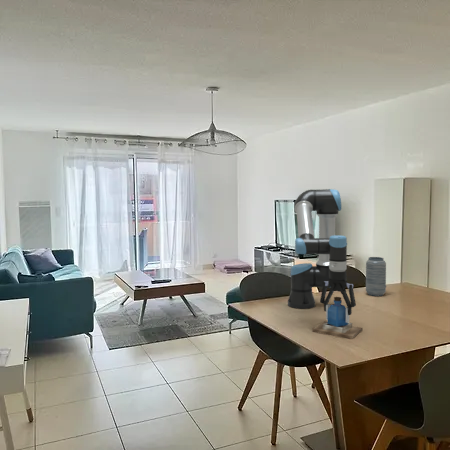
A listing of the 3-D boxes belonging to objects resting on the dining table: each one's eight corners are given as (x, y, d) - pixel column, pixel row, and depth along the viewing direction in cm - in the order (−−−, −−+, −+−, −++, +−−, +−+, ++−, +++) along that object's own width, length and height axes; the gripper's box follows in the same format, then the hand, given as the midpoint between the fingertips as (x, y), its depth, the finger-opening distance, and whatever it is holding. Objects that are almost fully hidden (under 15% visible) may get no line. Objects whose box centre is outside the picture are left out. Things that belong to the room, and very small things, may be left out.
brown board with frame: (312, 331, 186) (312, 324, 186) (324, 323, 198) (324, 317, 198) (352, 339, 176) (352, 331, 176) (362, 330, 187) (362, 323, 187)
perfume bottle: (337, 326, 182) (337, 300, 182) (327, 323, 188) (327, 297, 187) (347, 324, 185) (347, 298, 185) (337, 321, 191) (338, 295, 190)
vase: (388, 296, 251) (389, 259, 250) (369, 296, 251) (369, 259, 250) (381, 292, 263) (382, 256, 261) (363, 292, 263) (363, 256, 262)
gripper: (312, 269, 188) (312, 318, 190) (358, 273, 176) (358, 326, 177) (318, 267, 194) (318, 314, 196) (364, 271, 182) (363, 322, 183)
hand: (337, 320), depth 187 cm, fingers closed on perfume bottle, 8 cm apart
